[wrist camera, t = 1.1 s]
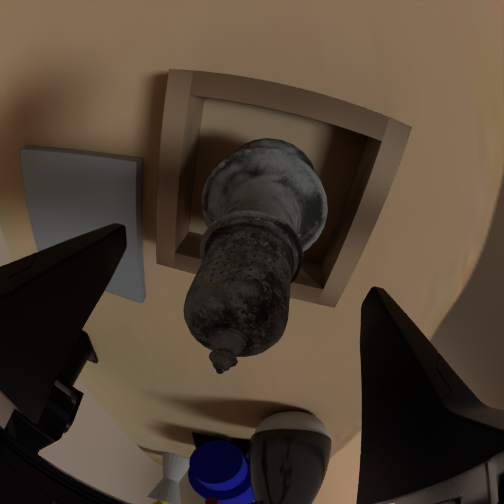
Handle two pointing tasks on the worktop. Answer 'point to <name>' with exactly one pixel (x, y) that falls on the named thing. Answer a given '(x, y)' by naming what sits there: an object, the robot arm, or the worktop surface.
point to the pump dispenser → (288, 458)
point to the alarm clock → (220, 472)
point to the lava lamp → (170, 479)
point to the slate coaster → (87, 204)
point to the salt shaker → (252, 248)
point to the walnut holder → (293, 101)
